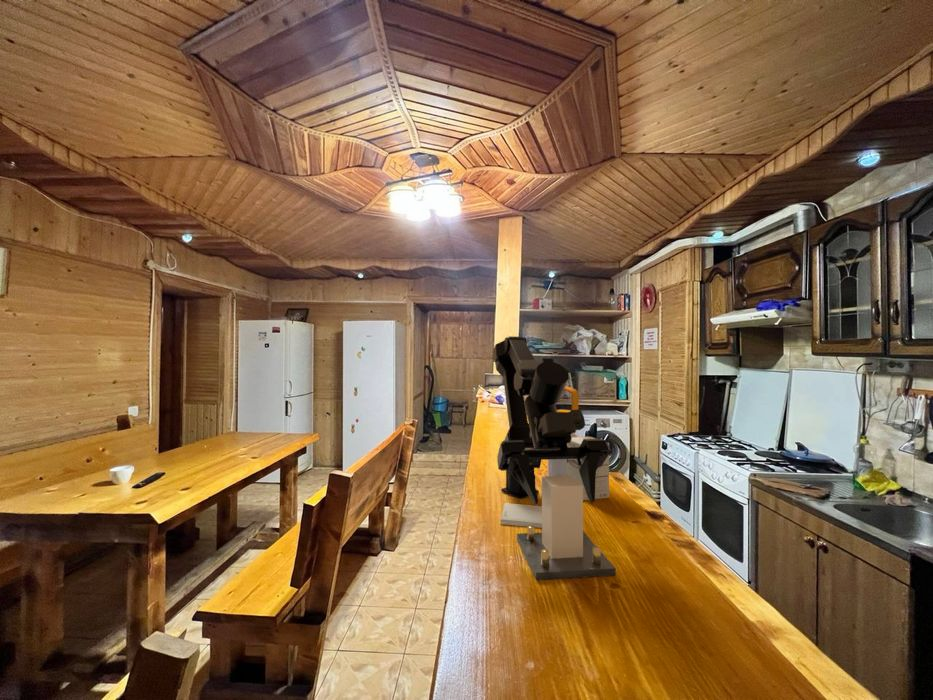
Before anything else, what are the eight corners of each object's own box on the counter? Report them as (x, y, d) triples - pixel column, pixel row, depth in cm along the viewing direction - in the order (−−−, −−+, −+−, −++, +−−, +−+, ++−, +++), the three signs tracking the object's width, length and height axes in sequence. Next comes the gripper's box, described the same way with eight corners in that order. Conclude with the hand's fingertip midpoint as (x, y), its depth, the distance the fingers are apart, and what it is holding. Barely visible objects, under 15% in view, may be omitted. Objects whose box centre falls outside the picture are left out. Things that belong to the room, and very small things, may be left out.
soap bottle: (555, 471, 105) (555, 383, 106) (588, 477, 100) (587, 385, 101) (542, 479, 98) (542, 385, 99) (576, 486, 93) (576, 387, 93)
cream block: (541, 542, 63) (541, 476, 63) (570, 541, 63) (570, 475, 64) (551, 558, 58) (551, 486, 58) (583, 556, 58) (582, 485, 59)
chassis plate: (516, 539, 66) (516, 522, 66) (582, 536, 67) (582, 519, 67) (535, 579, 54) (535, 558, 54) (615, 575, 55) (615, 554, 55)
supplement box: (564, 489, 91) (564, 437, 91) (591, 487, 93) (591, 435, 93) (581, 501, 84) (581, 444, 84) (610, 498, 86) (610, 442, 86)
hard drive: (500, 518, 72) (567, 524, 70) (504, 502, 80) (564, 506, 78) (500, 527, 72) (567, 533, 70) (504, 510, 80) (564, 514, 78)
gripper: (500, 393, 64) (515, 479, 53) (605, 392, 66) (641, 475, 55) (492, 430, 72) (504, 512, 61) (586, 429, 74) (614, 508, 62)
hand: (564, 502), depth 59 cm, fingers open, 9 cm apart
